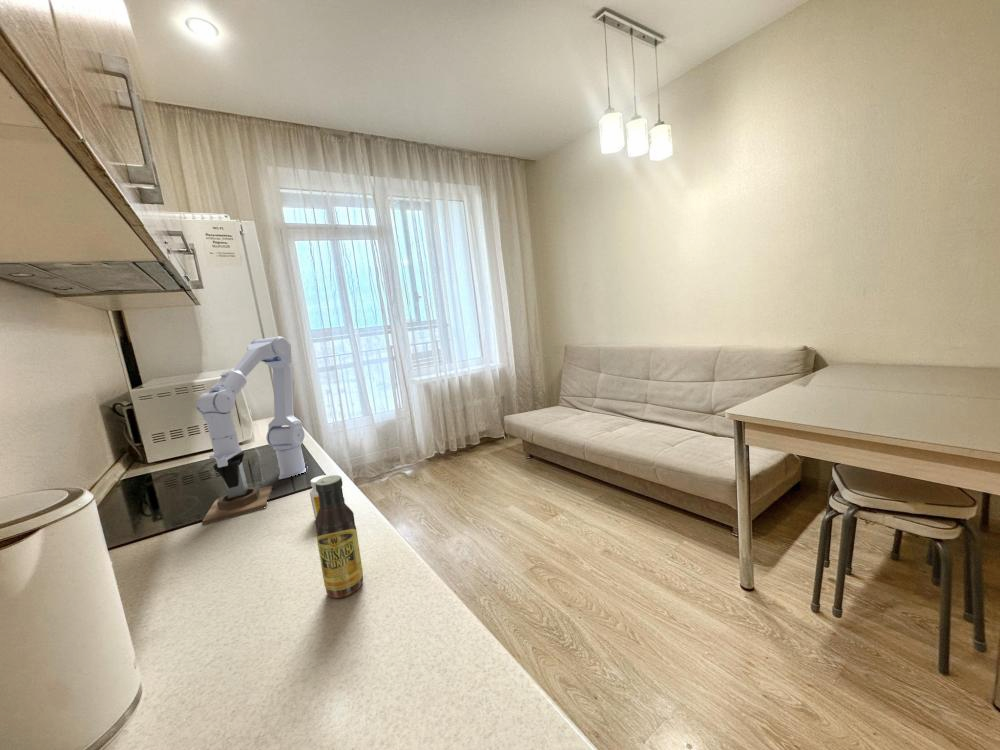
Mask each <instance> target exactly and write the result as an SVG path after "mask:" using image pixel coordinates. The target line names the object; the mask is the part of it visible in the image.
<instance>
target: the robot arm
mask: <svg viewBox="0 0 1000 750" xmlns="http://www.w3.org/2000/svg"><path fill="white" fill-rule="evenodd" d="M246 350H247V351H246V352H245V354H244V355H243V356H242V357H241V359H240V360H239V362H238V363H237V364H236V366H235V367H234V369H233V370H228V371H225V372H222V373H221V375H220V376H221V377H220V378H219V379H218V380H217V381H216V383H215V384H214V385H212V386H211V387H210V390H208V392H204V393H203V394H202V393H201V395H200V396H199V397H198V399H197V402H196V403H197V404H196V406H195V409H196V410H197V411H198V413H199V414H200V415H202V418H203V420H204V421H205V422H206V426H207V429H208V434H209V438H210V442H211V445H212V449H213V453H212V454H209V459H215V460H216V463H215V464H214V465H213V469H214V471H216V472H217V473H218V474H219V475H220V476H221V478H222V479H224V480H223V482H224V481H225V483H226V484H227V486H228V487H229V488H232V487H236V486H238V482H239V480H238V466H239V462H242V463H243V460H244V457H245V452H243V451H242V448H241V447H240V443H239V438H238V435H237V430H236V426H235V422H234V417H233V414H232V410H233V409H234V408H235V406H236V405H235V404H236V399H237V396H238V395H239V394H240V392H241V391H242V390H243V388H244V387H245V386H246V384H247V382H248V381H247V378H246V377H247V376H248V375H249V374H250V373H251V372H252V371H253V370H254V369H255V368H256V367H257V366H258V364H260V362H261V363H263V364H265V365H267V366H269V367H270V368H271V369H272V376H273V379H272V380H273V381H272V382H273V408H274V412H273V413H274V418H273V419H272V420H271V421H270V422H269V423H268V429H267V433H266V437H265V438H266V442H267V444H268V445H269V446H270V447H272V449H273V450H274V451H275V455H276V458H277V462H278V463H277V464H278V467H279V476H278V480H282V479H287V478H291V476H292V477H295V475H296V476H299V475H298V474H300V475H302V474H301V473H304V472H306V468H305V463H306V462H305V459H304V454H303V449H302V446H301V445H303V442H304V439H305V430H304V428H303V422H302V421H301V420H300V419H298V418H297V417H296V416H295V415H294V414H295V413H294V409H295V408H294V388H293V387H294V385H293V381H294V380H293V363H292V346H291V343H290V342H289V341H288V340H287V339H286V338H285V337H284V336H279V335H277V336H276V337H268V338H266V337H265V338H256V339H253V340H252V341H251V342H250V343H249V344H248V345H247V346H246ZM306 473H307V472H306ZM304 474H305V473H304Z"/></svg>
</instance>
